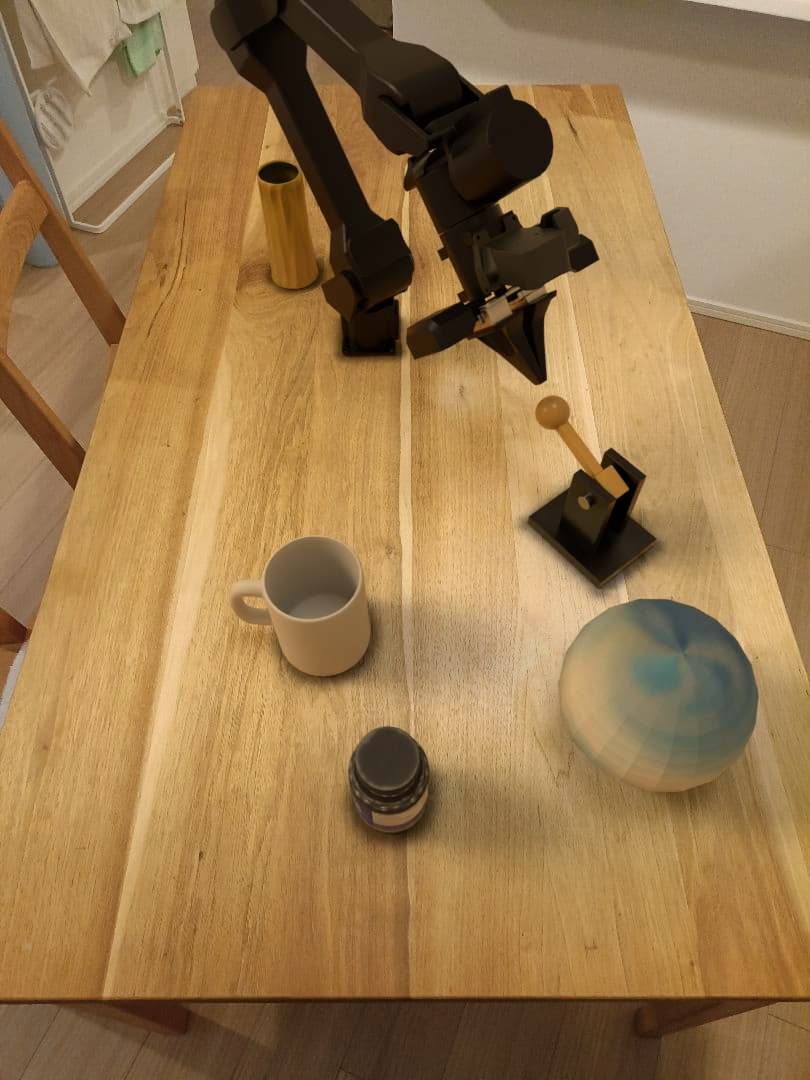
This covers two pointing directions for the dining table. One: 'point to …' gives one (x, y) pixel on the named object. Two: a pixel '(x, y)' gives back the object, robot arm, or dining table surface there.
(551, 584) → the dining table surface
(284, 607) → the mug
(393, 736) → the pill bottle
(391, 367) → the dining table surface
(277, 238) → the vase
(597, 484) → the lever base
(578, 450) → the ball knob lever
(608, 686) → the decorative ball
